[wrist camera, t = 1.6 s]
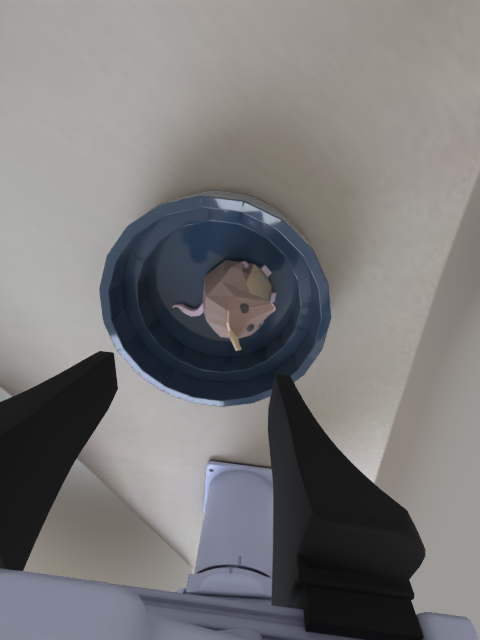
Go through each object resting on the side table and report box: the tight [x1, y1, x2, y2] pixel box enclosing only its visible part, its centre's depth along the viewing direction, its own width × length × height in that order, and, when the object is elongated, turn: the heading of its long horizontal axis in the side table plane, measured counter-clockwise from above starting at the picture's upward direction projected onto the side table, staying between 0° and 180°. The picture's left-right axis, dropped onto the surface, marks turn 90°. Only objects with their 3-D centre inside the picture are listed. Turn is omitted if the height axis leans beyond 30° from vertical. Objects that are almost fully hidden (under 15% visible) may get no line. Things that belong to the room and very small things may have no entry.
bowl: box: [99, 190, 331, 406], centre depth 20 cm, size 14×14×4 cm
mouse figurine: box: [172, 260, 276, 351], centre depth 19 cm, size 5×8×7 cm, turn 106°
